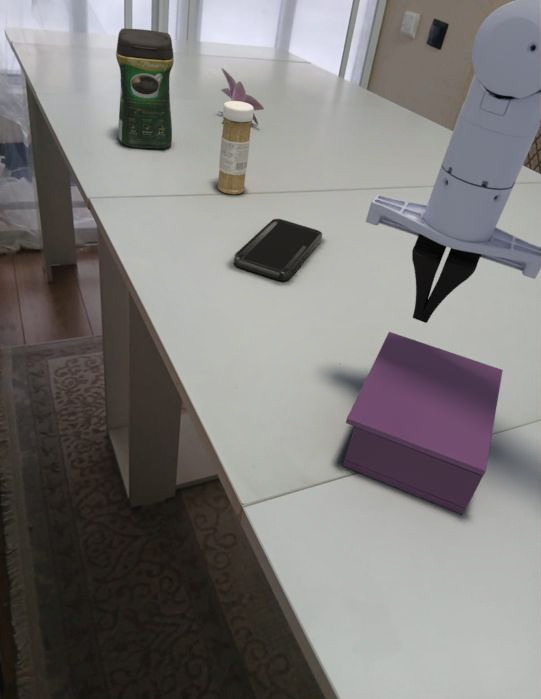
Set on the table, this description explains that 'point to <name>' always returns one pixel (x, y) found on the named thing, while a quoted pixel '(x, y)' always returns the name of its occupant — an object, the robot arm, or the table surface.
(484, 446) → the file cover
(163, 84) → the coffee jar
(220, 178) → the sprinkles bottle
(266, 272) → the phone
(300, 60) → the table surface
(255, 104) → the lily
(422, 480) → the box
